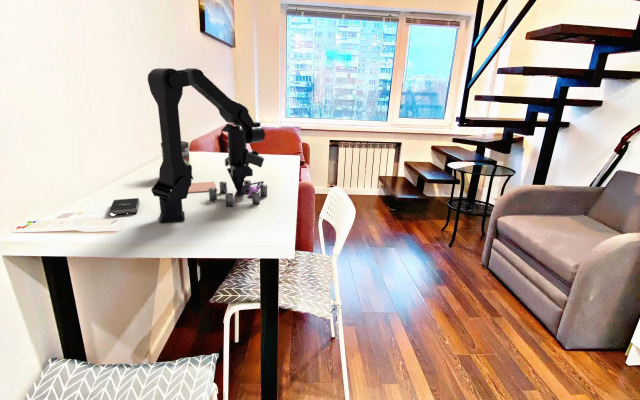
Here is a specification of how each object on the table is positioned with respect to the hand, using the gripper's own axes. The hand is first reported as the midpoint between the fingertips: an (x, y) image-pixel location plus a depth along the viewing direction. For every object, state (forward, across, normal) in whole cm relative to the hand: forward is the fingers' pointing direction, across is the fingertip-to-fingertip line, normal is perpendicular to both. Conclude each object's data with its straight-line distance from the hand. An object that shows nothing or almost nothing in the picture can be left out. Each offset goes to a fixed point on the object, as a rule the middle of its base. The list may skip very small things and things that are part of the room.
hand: (238, 191), depth 117 cm
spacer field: (+2, 0, 0) cm, 3 cm away
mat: (+3, +16, +11) cm, 19 cm away
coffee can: (+3, +35, +19) cm, 40 cm away
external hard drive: (+3, -2, +34) cm, 34 cm away
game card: (+1, 0, 0) cm, 1 cm away
